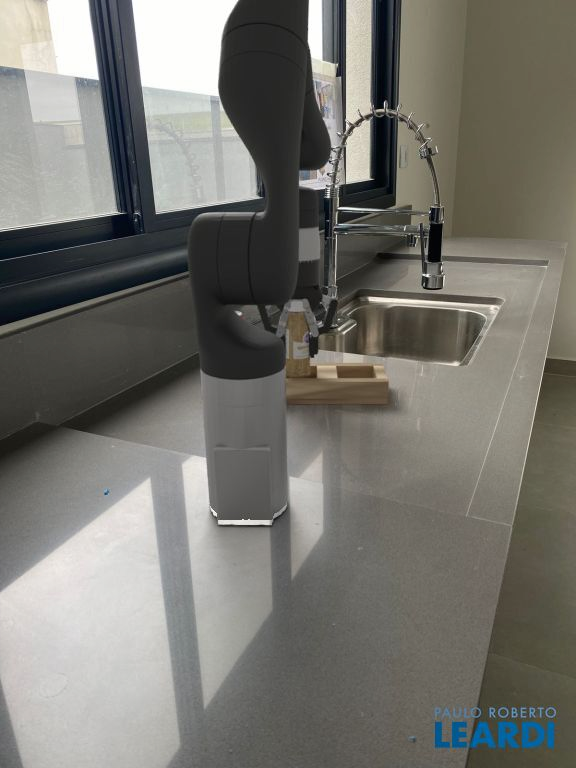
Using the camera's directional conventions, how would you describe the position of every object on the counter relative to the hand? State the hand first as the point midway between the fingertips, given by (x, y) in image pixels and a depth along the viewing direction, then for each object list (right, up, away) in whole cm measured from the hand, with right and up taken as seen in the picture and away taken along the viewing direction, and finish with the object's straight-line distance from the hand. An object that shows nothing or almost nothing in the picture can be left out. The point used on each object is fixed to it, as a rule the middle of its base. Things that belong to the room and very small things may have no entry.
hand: (297, 356), depth 103 cm
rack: (+5, -6, +2) cm, 8 cm away
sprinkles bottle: (0, -3, +1) cm, 3 cm away
